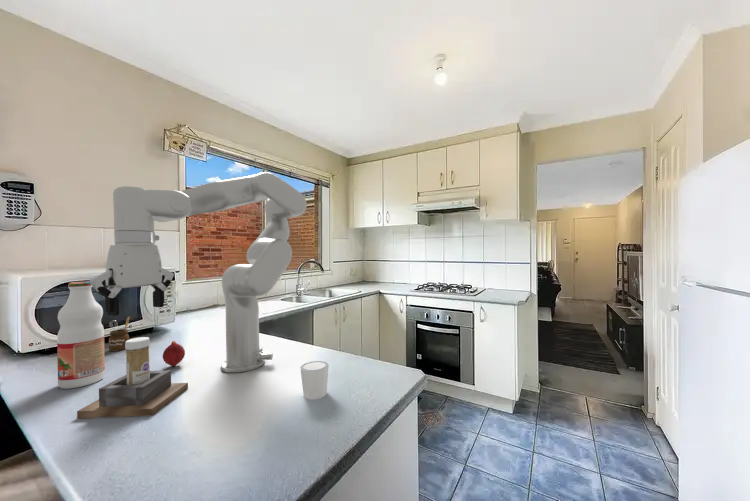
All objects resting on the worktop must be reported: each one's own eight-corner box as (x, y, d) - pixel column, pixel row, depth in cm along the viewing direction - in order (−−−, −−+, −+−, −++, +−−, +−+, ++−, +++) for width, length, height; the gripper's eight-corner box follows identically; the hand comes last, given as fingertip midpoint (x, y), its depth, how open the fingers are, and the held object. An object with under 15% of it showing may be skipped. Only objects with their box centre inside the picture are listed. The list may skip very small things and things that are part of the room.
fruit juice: (97, 385, 82) (95, 282, 82) (50, 392, 78) (48, 284, 78) (110, 372, 90) (108, 279, 90) (68, 379, 86) (66, 281, 86)
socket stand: (188, 388, 78) (187, 367, 78) (152, 415, 65) (151, 390, 65) (125, 390, 78) (125, 369, 78) (77, 418, 65) (76, 392, 65)
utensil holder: (114, 347, 116) (114, 316, 116) (133, 346, 117) (133, 315, 117) (104, 352, 110) (104, 319, 110) (124, 350, 111) (124, 318, 112)
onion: (189, 364, 96) (188, 339, 96) (170, 371, 91) (169, 344, 91) (177, 362, 98) (177, 337, 98) (158, 368, 93) (158, 342, 93)
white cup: (304, 403, 69) (304, 373, 69) (297, 391, 75) (297, 363, 75) (333, 396, 72) (332, 367, 72) (324, 385, 78) (323, 358, 78)
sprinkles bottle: (143, 398, 70) (142, 341, 70) (121, 400, 69) (120, 342, 69) (154, 389, 74) (153, 335, 74) (134, 391, 74) (133, 337, 74)
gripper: (162, 240, 81) (164, 303, 81) (79, 239, 65) (82, 317, 65) (181, 239, 78) (182, 305, 78) (99, 237, 62) (102, 320, 62)
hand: (137, 310), depth 72 cm, fingers open, 9 cm apart
